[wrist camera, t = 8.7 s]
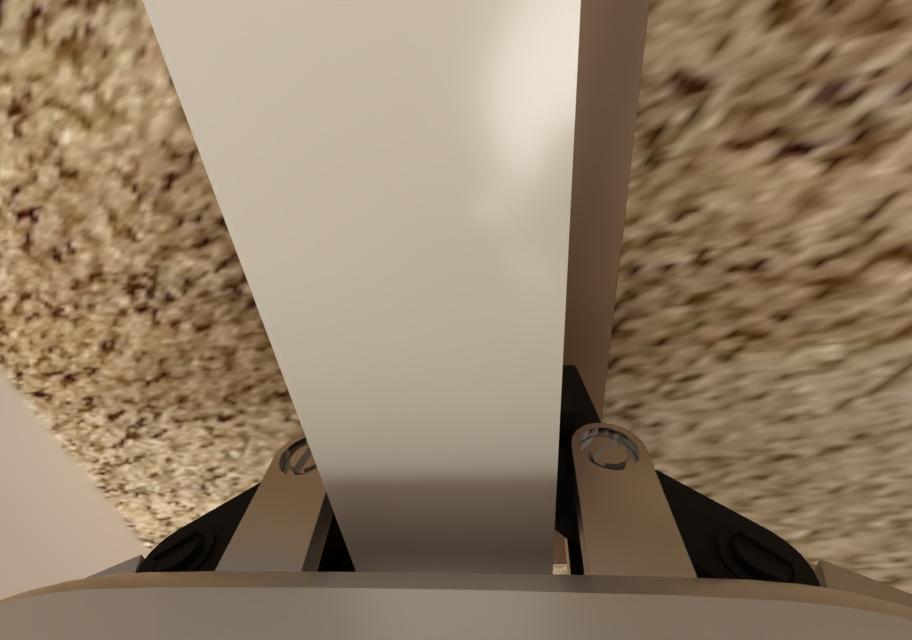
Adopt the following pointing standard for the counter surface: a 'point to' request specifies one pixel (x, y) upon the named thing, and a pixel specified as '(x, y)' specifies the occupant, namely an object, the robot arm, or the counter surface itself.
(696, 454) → the counter surface
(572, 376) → the robot arm
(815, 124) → the counter surface
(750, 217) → the counter surface
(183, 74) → the white rectangular slab
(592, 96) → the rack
